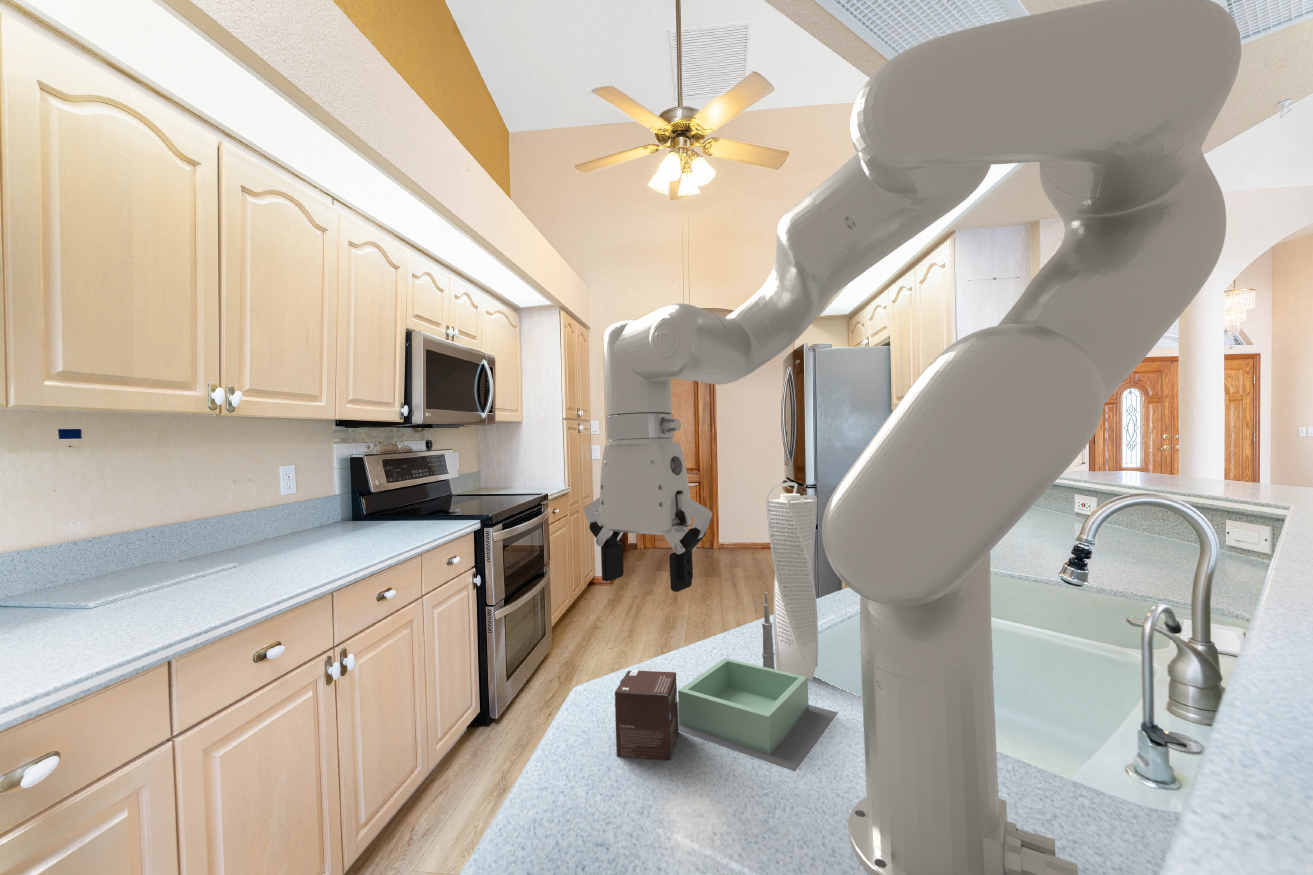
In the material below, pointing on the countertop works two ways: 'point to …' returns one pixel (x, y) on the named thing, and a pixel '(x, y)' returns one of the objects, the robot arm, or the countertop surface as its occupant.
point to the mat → (790, 747)
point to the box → (646, 715)
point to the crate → (744, 704)
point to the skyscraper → (792, 585)
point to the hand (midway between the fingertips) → (645, 583)
